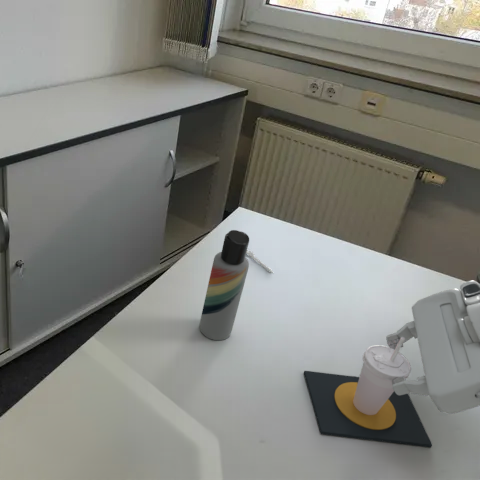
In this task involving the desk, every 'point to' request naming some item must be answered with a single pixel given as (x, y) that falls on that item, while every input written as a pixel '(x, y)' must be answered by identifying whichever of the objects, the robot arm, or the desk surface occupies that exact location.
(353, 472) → the desk surface
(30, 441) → the desk surface
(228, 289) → the lotion bottle
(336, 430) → the mat
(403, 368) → the smoothie
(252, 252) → the white spoon
